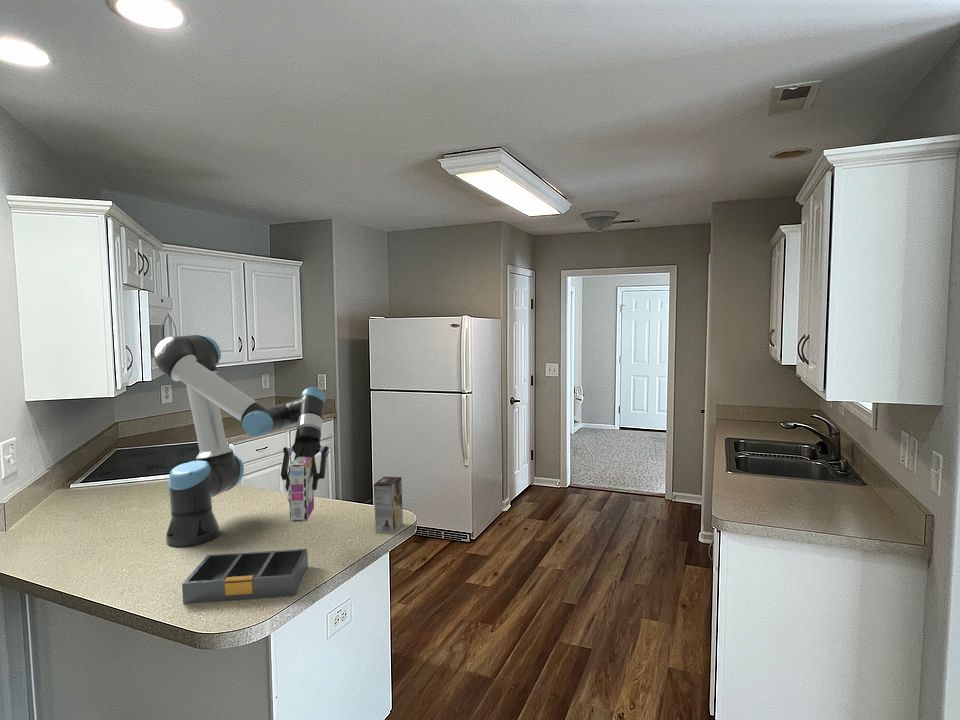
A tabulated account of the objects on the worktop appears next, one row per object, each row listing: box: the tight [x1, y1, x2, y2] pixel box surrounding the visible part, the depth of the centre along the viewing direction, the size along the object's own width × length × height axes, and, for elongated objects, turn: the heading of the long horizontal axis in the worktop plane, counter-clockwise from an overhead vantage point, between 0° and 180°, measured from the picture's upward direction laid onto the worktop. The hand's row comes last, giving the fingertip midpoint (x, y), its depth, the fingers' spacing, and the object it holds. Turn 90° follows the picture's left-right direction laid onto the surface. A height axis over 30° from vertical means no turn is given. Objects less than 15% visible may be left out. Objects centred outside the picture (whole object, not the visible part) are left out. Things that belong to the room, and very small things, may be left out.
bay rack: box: [181, 548, 309, 605], centre depth 147 cm, size 26×17×5 cm, turn 96°
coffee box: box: [373, 476, 404, 534], centre depth 184 cm, size 9×6×16 cm
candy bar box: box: [288, 456, 315, 523], centre depth 165 cm, size 11×5×16 cm, turn 5°
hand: (299, 499), depth 161 cm, fingers closed on candy bar box, 5 cm apart
